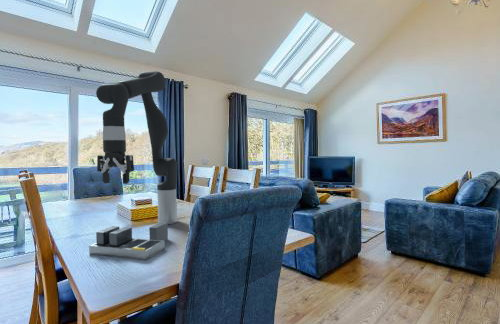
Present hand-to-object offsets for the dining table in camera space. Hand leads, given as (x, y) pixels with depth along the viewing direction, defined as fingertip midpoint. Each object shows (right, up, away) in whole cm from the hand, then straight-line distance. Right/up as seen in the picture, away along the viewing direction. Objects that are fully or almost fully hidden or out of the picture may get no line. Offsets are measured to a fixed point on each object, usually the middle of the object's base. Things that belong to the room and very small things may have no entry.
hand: (116, 183), depth 101 cm
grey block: (+13, -24, +9) cm, 29 cm away
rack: (+5, -25, -1) cm, 25 cm away
